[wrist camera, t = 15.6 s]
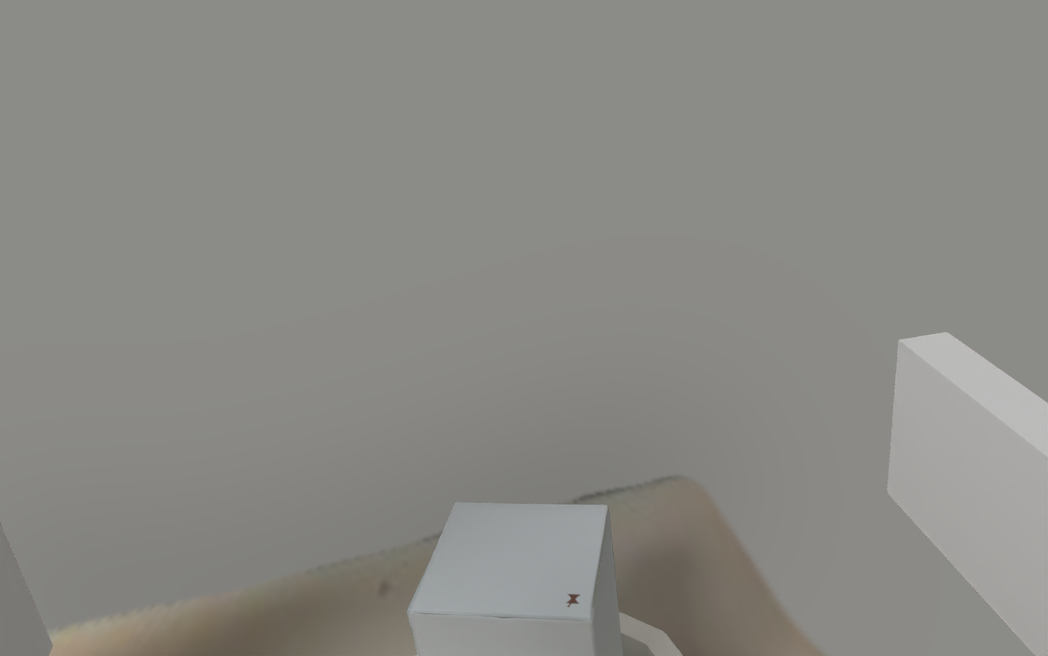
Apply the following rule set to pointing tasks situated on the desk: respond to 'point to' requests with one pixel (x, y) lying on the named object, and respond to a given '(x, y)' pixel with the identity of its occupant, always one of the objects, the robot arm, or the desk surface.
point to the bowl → (644, 639)
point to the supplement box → (519, 583)
